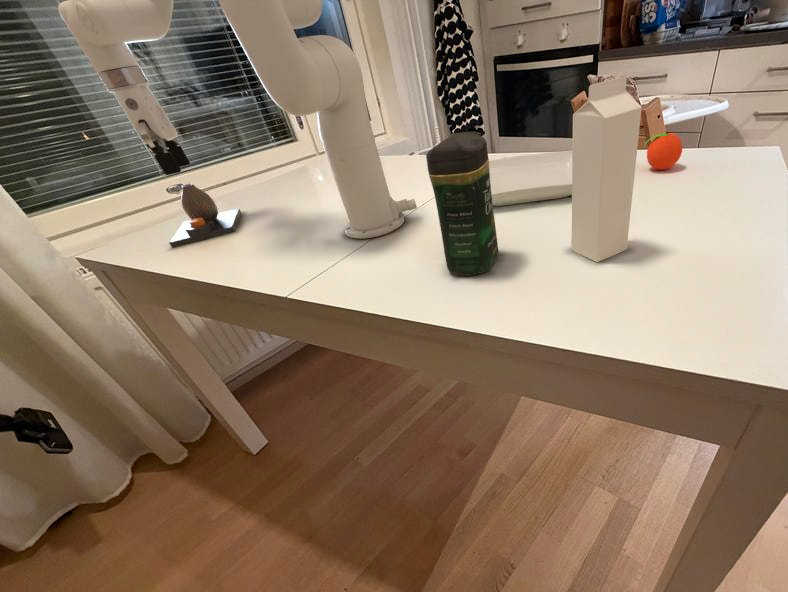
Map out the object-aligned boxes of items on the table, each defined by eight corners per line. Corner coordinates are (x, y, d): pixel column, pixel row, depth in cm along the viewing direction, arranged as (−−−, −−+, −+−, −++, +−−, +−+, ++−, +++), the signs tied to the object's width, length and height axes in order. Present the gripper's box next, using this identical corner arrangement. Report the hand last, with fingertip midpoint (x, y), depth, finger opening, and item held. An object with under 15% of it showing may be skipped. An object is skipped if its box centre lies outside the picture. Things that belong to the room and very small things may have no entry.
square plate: (600, 199, 78) (601, 178, 75) (464, 217, 80) (461, 198, 78) (576, 163, 98) (577, 145, 96) (468, 178, 101) (466, 162, 99)
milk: (626, 250, 60) (647, 75, 46) (596, 263, 59) (608, 85, 44) (599, 238, 65) (610, 75, 51) (569, 250, 63) (572, 84, 49)
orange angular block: (207, 222, 94) (203, 216, 93) (205, 226, 92) (201, 220, 91) (194, 226, 94) (190, 219, 93) (191, 230, 92) (187, 223, 91)
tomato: (641, 176, 85) (646, 139, 80) (637, 166, 90) (641, 131, 85) (682, 172, 83) (689, 134, 78) (675, 162, 88) (681, 126, 83)
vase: (209, 225, 96) (187, 188, 91) (187, 227, 98) (164, 191, 92) (228, 215, 101) (208, 179, 96) (207, 216, 103) (186, 181, 97)
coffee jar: (491, 277, 60) (473, 142, 48) (442, 277, 62) (413, 148, 50) (504, 249, 67) (491, 124, 55) (460, 250, 69) (438, 130, 57)
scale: (241, 213, 106) (235, 202, 104) (235, 233, 94) (228, 220, 92) (186, 227, 103) (179, 215, 101) (172, 249, 91) (163, 236, 89)
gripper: (131, 77, 75) (188, 172, 86) (156, 76, 88) (202, 159, 99) (88, 86, 74) (151, 181, 84) (120, 83, 87) (171, 166, 97)
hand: (179, 169), depth 92 cm, fingers open, 9 cm apart
